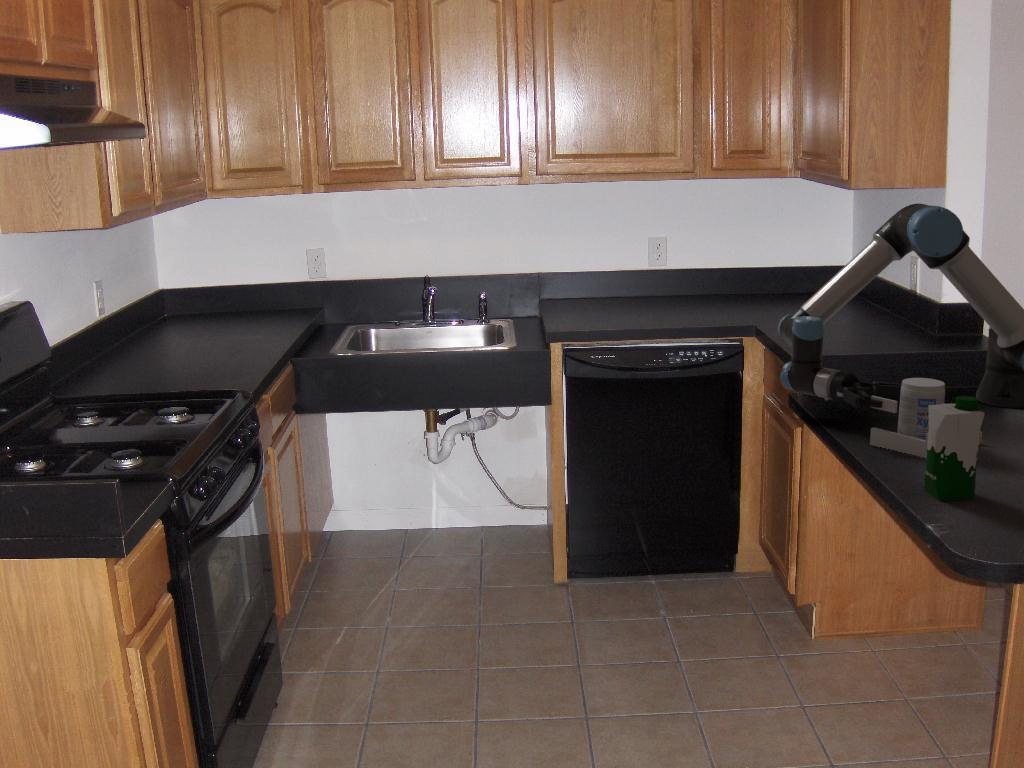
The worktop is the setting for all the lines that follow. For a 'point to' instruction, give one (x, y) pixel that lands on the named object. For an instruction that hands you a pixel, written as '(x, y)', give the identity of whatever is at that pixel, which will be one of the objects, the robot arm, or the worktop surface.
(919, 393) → the supplement tub
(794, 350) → the robot arm
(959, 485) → the milk carton
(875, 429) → the end holder
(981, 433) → the clip
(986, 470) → the worktop surface
